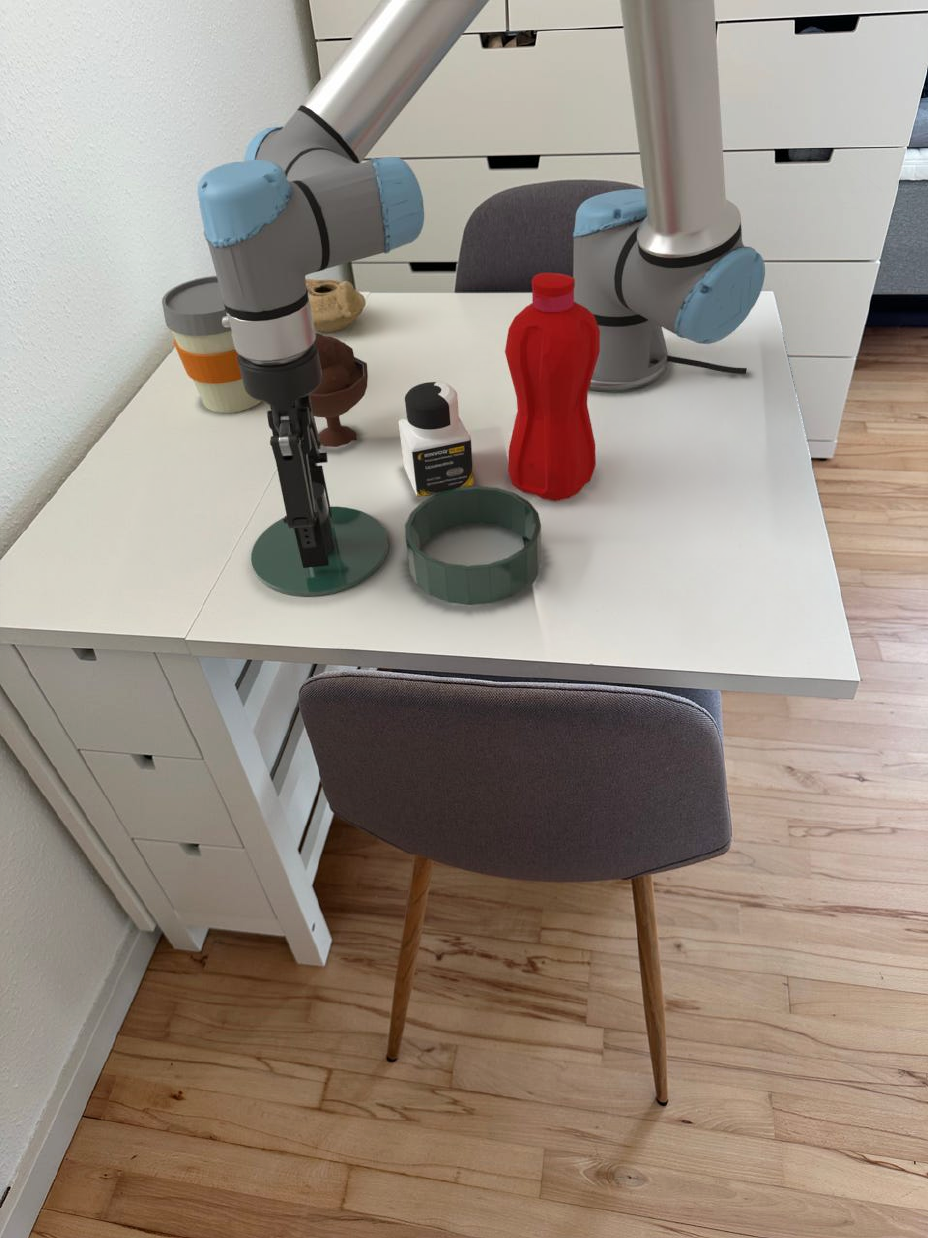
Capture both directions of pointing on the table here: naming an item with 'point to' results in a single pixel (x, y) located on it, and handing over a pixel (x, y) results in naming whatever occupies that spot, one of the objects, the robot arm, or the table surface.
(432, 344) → the table surface
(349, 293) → the oil lamp
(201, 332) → the reusable coffee cup
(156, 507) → the table surface
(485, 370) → the table surface
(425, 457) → the medicine bottle
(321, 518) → the pot lid
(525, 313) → the water bottle
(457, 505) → the pot
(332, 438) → the ice cream bowl
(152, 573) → the table surface
